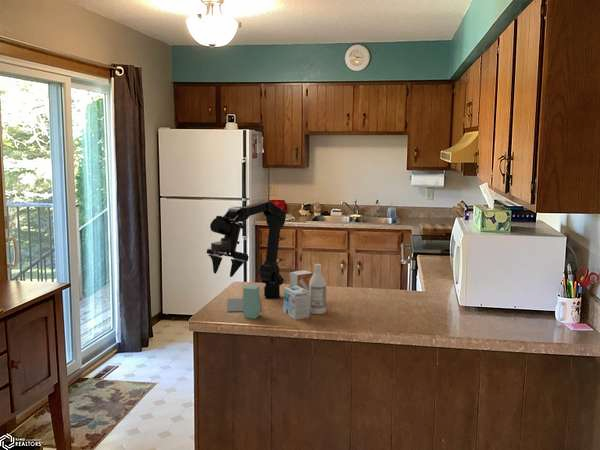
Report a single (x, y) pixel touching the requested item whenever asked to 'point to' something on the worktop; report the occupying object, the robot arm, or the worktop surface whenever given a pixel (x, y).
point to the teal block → (251, 301)
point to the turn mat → (236, 305)
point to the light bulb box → (296, 302)
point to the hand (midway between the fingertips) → (222, 275)
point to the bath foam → (317, 292)
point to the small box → (300, 279)
